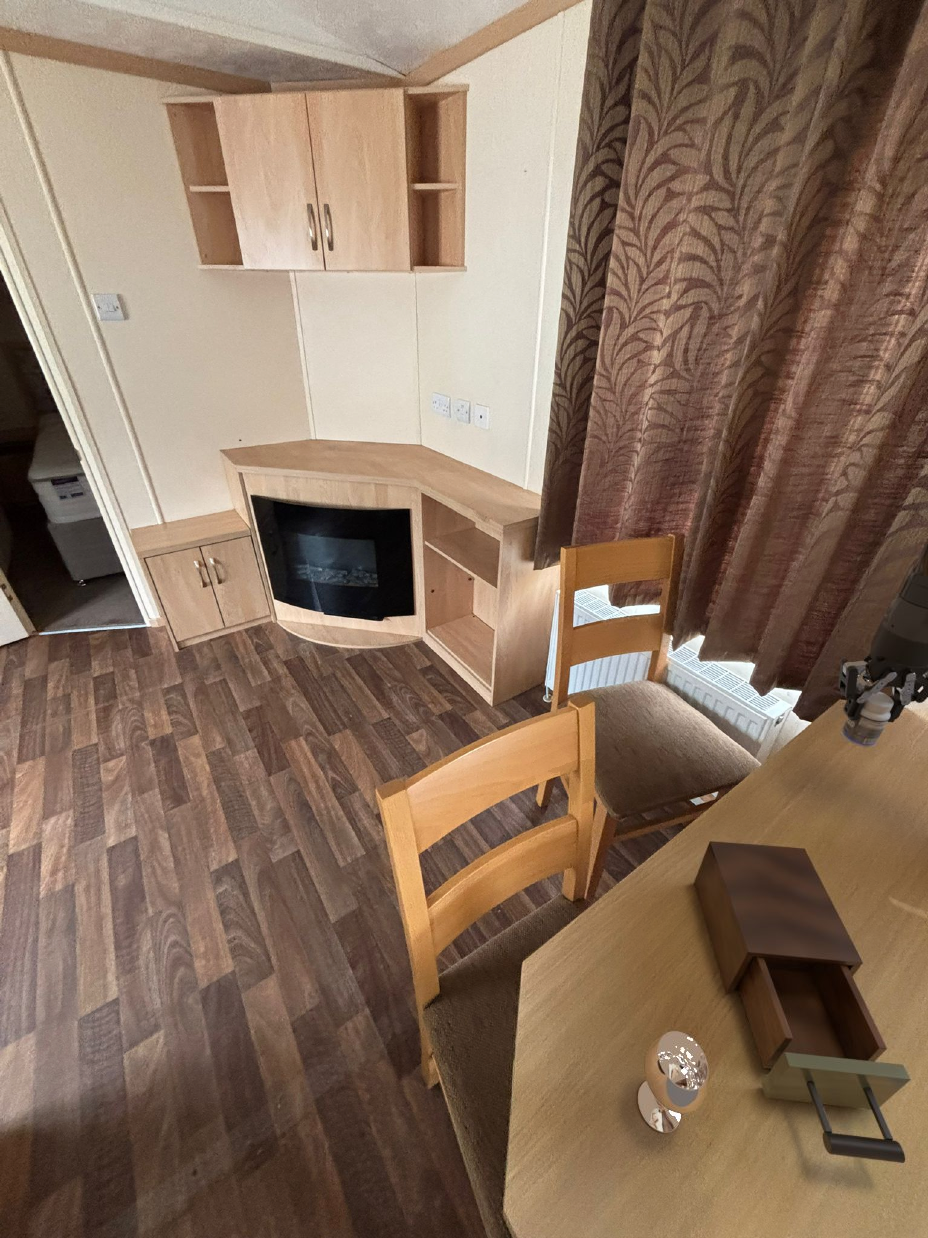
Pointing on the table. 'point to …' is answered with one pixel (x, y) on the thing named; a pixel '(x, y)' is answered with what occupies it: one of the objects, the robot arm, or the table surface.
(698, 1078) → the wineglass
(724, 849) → the cabinet
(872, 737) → the pill bottle
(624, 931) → the table surface
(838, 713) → the table surface
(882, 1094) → the drawer
